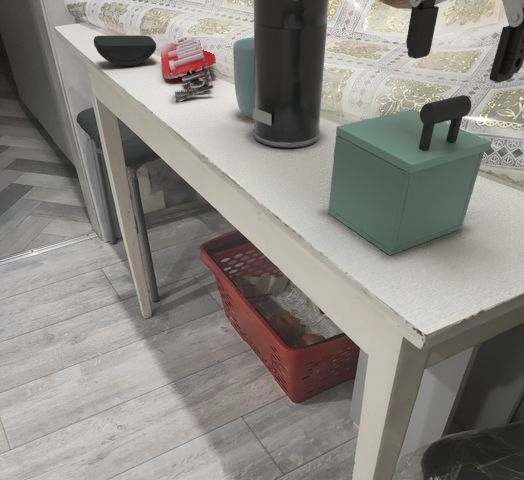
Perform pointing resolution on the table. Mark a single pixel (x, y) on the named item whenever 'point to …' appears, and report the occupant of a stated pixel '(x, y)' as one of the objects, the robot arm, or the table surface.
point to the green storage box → (399, 197)
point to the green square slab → (418, 135)
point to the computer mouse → (125, 49)
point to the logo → (187, 65)
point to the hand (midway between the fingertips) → (457, 67)
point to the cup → (244, 75)
